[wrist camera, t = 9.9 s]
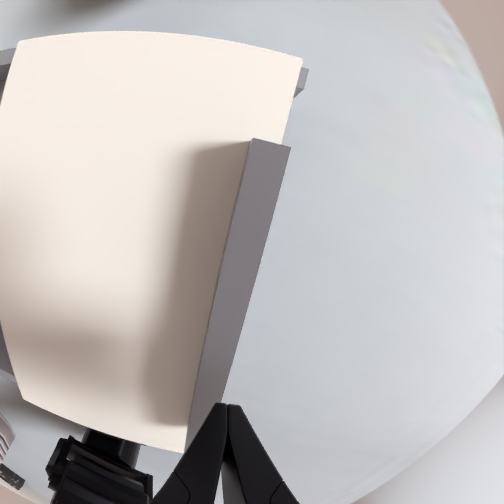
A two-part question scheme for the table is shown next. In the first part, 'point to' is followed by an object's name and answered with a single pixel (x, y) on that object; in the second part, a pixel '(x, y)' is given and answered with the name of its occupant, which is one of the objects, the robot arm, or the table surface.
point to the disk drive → (11, 477)
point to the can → (5, 437)
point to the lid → (135, 221)
